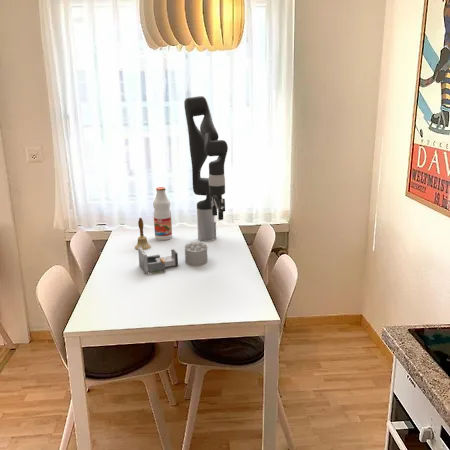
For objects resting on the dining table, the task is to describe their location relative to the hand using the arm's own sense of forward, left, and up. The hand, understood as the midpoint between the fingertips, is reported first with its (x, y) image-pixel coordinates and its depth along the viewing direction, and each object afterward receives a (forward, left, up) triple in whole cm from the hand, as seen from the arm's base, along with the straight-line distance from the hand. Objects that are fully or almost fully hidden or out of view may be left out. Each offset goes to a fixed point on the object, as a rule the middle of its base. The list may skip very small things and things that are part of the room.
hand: (217, 217), depth 234 cm
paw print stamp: (+11, 0, -21) cm, 23 cm away
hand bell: (+31, -31, -21) cm, 48 cm away
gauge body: (+33, +1, -20) cm, 39 cm away
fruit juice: (+17, -42, -21) cm, 50 cm away
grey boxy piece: (+26, +2, -20) cm, 33 cm away
